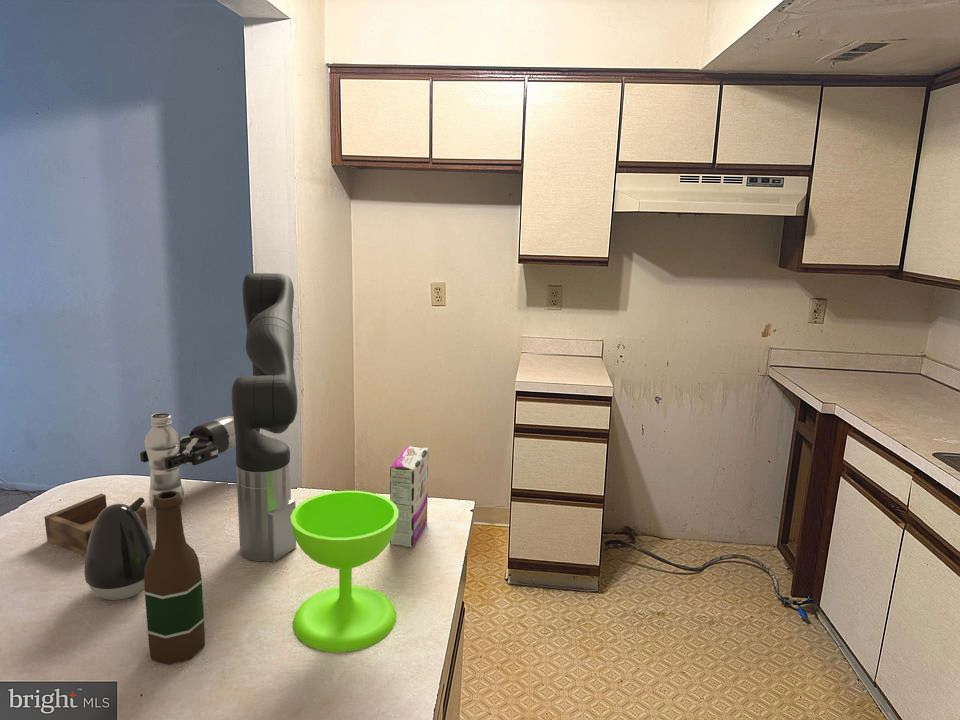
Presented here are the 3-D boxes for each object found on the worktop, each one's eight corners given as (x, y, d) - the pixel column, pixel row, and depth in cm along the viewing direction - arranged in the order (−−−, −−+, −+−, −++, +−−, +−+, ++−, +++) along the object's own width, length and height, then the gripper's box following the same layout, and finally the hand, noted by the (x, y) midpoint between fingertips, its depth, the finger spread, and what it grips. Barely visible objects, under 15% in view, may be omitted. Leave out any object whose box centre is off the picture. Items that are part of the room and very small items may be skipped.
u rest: (147, 531, 125) (145, 507, 123) (92, 558, 115) (90, 533, 113) (103, 516, 129) (101, 493, 128) (47, 541, 119) (44, 516, 118)
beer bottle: (160, 630, 97) (149, 482, 91) (214, 630, 98) (206, 482, 92) (138, 666, 89) (124, 507, 84) (196, 666, 90) (186, 508, 84)
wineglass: (309, 585, 110) (308, 487, 106) (403, 591, 110) (405, 493, 105) (278, 648, 94) (274, 536, 90) (387, 655, 94) (389, 543, 90)
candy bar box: (404, 518, 135) (406, 444, 131) (427, 521, 134) (430, 447, 130) (387, 545, 124) (389, 465, 120) (413, 549, 123) (415, 468, 119)
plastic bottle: (171, 516, 131) (165, 422, 126) (142, 511, 132) (134, 418, 127) (191, 502, 137) (186, 412, 132) (163, 497, 138) (157, 408, 134)
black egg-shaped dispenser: (172, 580, 109) (166, 497, 106) (121, 615, 100) (112, 526, 96) (126, 567, 113) (118, 486, 109) (71, 600, 103) (61, 512, 99)
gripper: (193, 414, 147) (127, 436, 132) (242, 426, 141) (178, 450, 126) (195, 445, 148) (130, 471, 134) (243, 458, 143) (180, 486, 128)
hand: (154, 461), depth 130 cm, fingers closed on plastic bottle, 6 cm apart
